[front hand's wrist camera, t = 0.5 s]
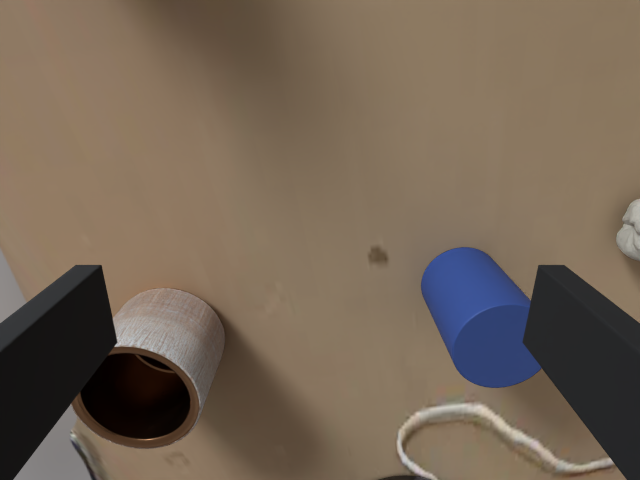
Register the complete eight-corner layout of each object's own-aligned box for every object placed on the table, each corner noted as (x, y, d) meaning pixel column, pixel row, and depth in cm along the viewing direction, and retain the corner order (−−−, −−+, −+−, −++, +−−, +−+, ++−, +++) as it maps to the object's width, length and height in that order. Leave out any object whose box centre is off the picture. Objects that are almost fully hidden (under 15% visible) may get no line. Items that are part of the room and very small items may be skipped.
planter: (97, 307, 41) (36, 372, 32) (193, 268, 40) (156, 324, 31) (155, 387, 45) (115, 465, 36) (245, 354, 44) (226, 427, 35)
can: (514, 273, 40) (576, 337, 31) (462, 327, 42) (504, 403, 33) (456, 232, 39) (501, 285, 29) (405, 291, 41) (431, 358, 31)
